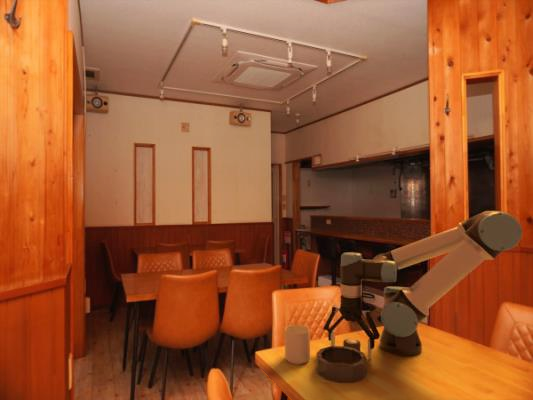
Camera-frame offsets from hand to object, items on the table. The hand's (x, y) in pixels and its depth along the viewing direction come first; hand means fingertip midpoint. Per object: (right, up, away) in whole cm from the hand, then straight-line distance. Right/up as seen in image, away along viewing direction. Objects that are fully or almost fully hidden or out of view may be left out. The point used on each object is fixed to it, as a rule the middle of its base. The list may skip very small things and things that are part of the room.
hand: (350, 353), depth 133 cm
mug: (-20, -1, -2) cm, 20 cm away
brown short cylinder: (0, -1, 0) cm, 1 cm away
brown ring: (-6, -1, -12) cm, 13 cm away
